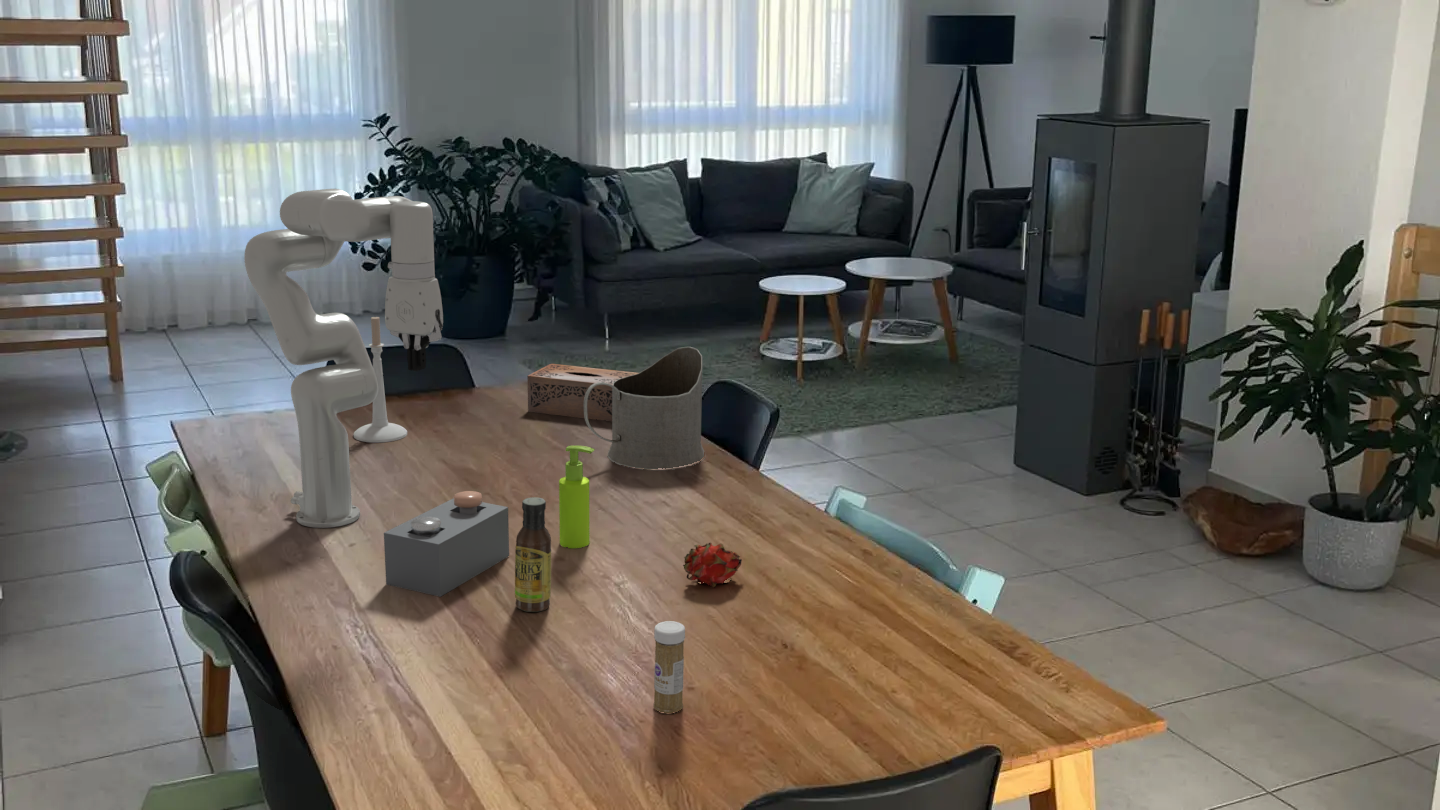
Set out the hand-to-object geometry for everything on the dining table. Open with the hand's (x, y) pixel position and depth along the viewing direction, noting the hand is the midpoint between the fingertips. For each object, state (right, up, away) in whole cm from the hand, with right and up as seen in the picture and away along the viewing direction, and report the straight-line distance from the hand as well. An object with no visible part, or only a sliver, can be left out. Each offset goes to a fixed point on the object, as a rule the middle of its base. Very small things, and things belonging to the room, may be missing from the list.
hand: (417, 369), depth 254 cm
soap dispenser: (+28, -34, +19) cm, 48 cm away
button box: (+5, -38, +4) cm, 38 cm away
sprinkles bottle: (+48, -53, -46) cm, 85 cm away
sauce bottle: (+23, -42, -11) cm, 50 cm away
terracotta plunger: (+8, -31, +8) cm, 33 cm away
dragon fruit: (+54, -40, +1) cm, 67 cm away
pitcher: (+37, -19, +73) cm, 84 cm away
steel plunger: (+2, -35, -3) cm, 35 cm away
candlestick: (-28, -14, +86) cm, 91 cm away
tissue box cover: (+20, -8, +112) cm, 114 cm away
